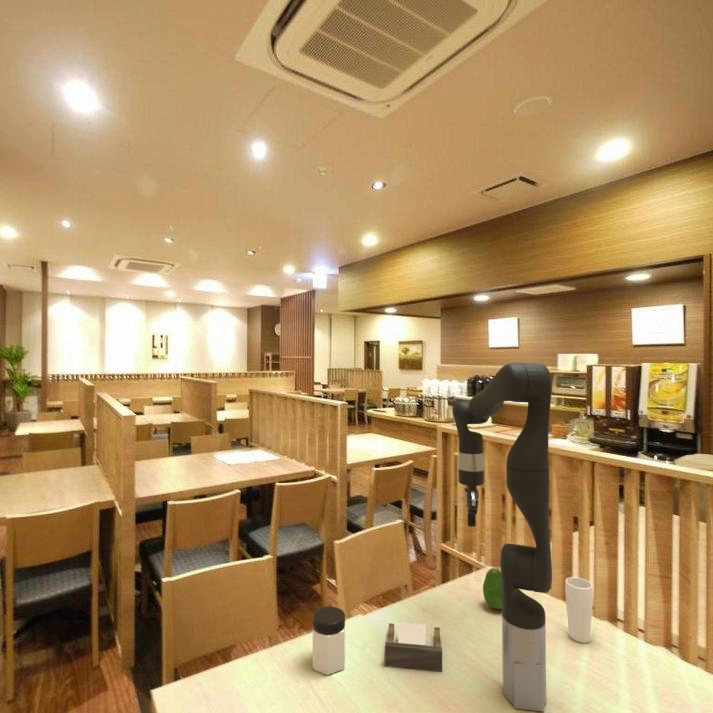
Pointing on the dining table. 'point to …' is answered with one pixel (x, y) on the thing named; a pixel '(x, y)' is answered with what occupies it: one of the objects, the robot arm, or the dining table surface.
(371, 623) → the dining table surface
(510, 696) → the robot arm
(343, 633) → the jar
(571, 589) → the drinking glass
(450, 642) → the dining table surface
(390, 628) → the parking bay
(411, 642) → the white rectangular block
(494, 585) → the avocado
